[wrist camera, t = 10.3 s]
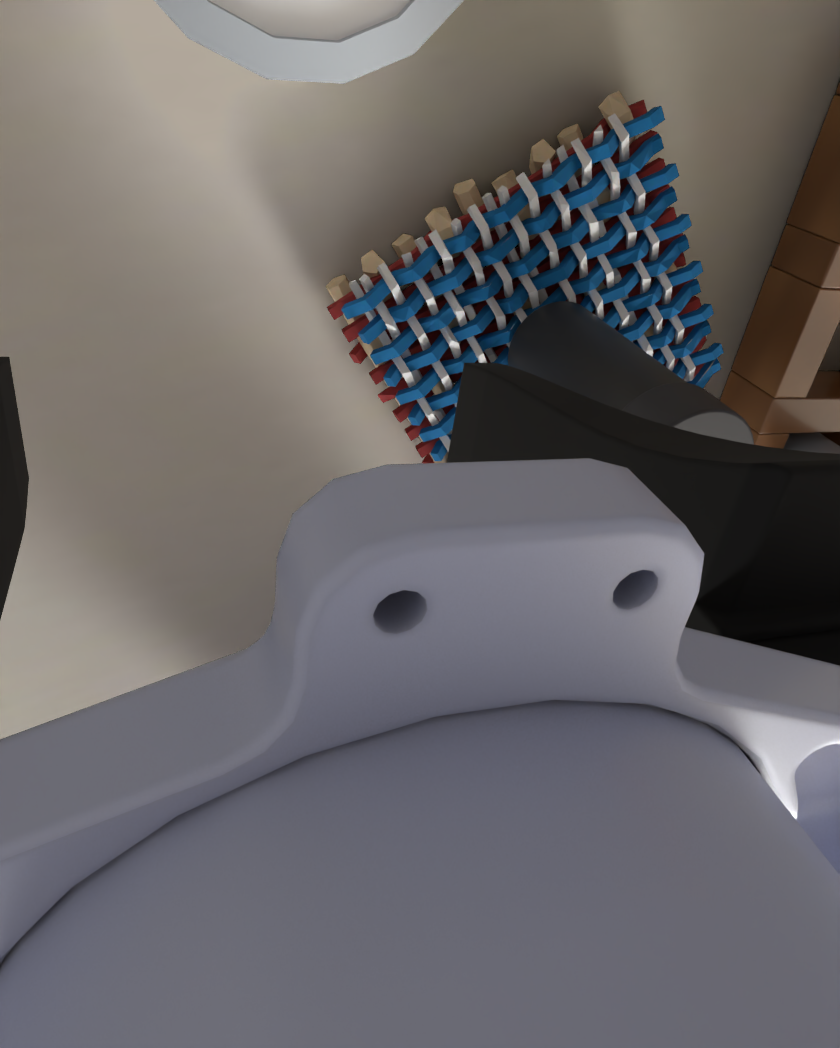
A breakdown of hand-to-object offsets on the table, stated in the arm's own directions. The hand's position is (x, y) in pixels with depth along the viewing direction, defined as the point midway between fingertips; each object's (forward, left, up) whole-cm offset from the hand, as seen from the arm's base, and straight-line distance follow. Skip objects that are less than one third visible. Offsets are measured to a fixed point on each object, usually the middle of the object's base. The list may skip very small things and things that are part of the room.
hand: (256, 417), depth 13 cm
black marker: (-2, -10, -8) cm, 13 cm away
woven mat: (-2, -10, -11) cm, 15 cm away
